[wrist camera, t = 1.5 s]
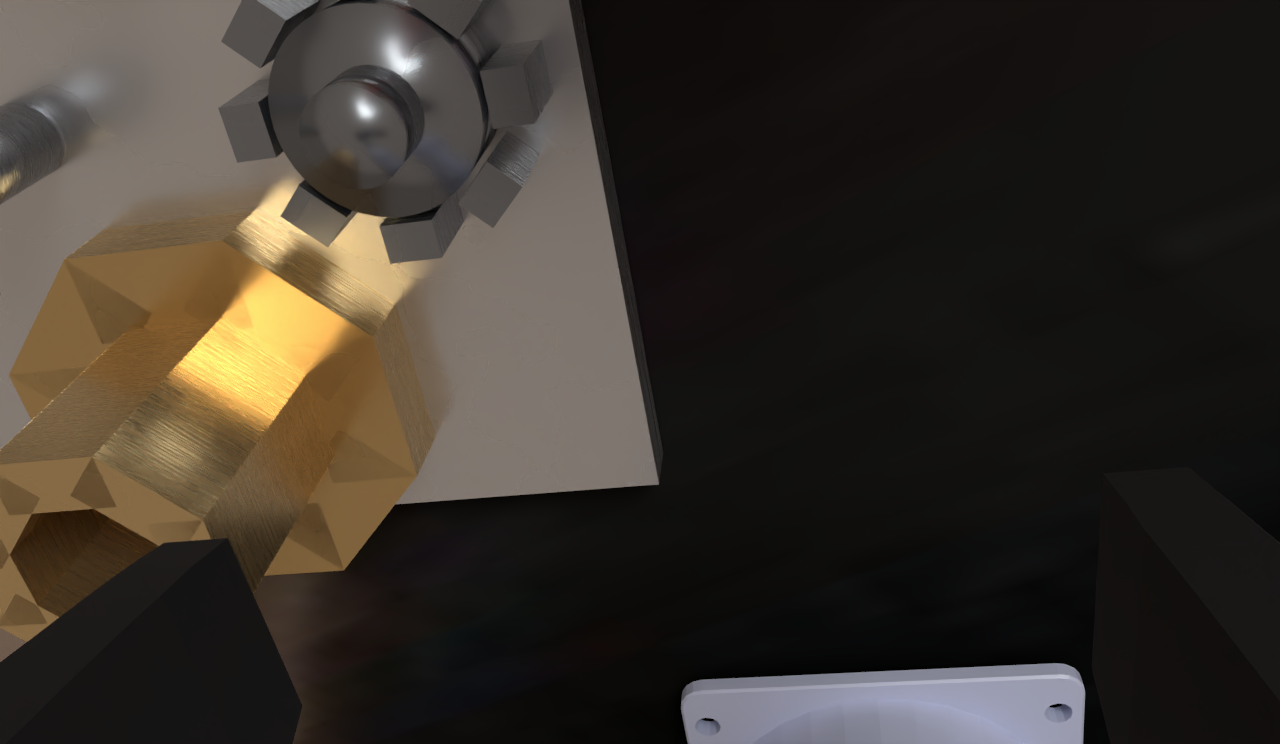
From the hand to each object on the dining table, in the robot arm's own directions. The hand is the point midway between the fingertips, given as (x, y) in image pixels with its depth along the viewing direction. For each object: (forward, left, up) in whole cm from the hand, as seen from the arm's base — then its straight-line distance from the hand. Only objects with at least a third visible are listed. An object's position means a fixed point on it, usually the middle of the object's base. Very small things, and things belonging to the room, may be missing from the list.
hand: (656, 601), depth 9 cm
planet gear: (-2, +8, -9) cm, 13 cm away
